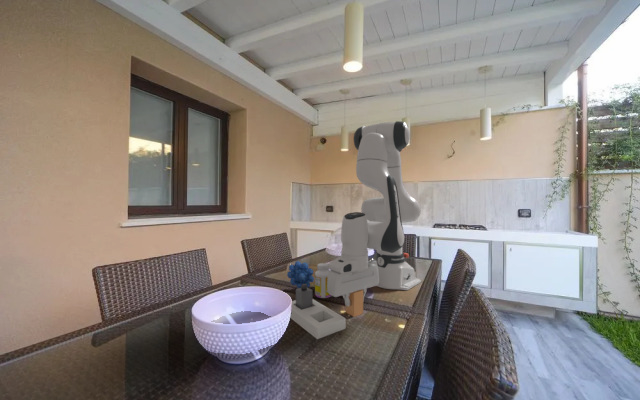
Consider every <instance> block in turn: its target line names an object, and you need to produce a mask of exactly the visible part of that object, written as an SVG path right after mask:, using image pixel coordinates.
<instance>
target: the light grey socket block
mask: <svg viewBox="0 0 640 400" xmlns="http://www.w3.org/2000/svg"><path fill="white" fill-rule="evenodd" d="M291 301H292V314H291V318H290V319H291V320H292V321H293V322H295V323H296V324H297V325H298V326H300V327H301V328H302V329H304V330H305V331H306V332H307V333H309V334H310V335H311V336H312V337H314V338H315V339H316V340H320V339H322V338H324V337H327V336H331V335H332V334H335V333H339V332H340V331H343V330H346V328H347V327H346V321H347V319H346V318H347V317H344V316H342V315H341V314H339V313H338V312H336V311H334V310H332V309H330V308H329V307H327V306H325V305H324V304H322V303H321V302H318V301H317V300H316V299H314V298H313V307H309V308H306V309H302V310H301V309H299V308H298V307H297V306H296V299H294V300H291Z"/></svg>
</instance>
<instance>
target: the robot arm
mask: <svg viewBox="0 0 640 400" xmlns="http://www.w3.org/2000/svg"><path fill="white" fill-rule="evenodd" d="M410 138H411V131H410V128H409V126H408V124H407V123H406V122H405V121H398V120H396V121H392V122H390V121H387V122H379V123H375V124H370V125H363V126H360V127H358V128H357V129H356V130H355V131H354V133H353V145H354V147H355V149H356V150H357V155H356V166H355V171H356V172H355V173H356V174H355V175H356V177H357V179H358V181H359V182H360V183H361V184H362V185H364V186H365V187H368V188H370V189H372V190H375V191H377V192H379V193H380V194H381V195H382V197H371V198H367V199H365V200H363V202H362V204H361V207H360V208H361V209H360V212H359V211H355V212H349V213H346V214H345V215H344V216H343V217H342V223H341V231H340V233H341V234H340V235H341V236H340V239H341V243H342V244H341V245H342V246H341V247H342V248H341V252H340V256H338V257H336V258H335V259H332V261H329V263H328V264H329V270H330V272H329V273H328V279H327V291H328V293H329V294H330V295H332V296H331V297H334V298H338V297H341V296H342V297H343V300H344V305H345V307H346V306H347V307H348V306H351V305H352V300H350V299H349V298H348V296H349V294H350V293H352V292H355V291H359V290H363V303H364V301H365V296H366V293H367V290H368V289H369V288H372V287H379V288H382V289H385V290H386V289H387V290H399V291H400V290H401V291H409V290H410V289H411V288H413V287H415V286H417V285H419V284H420V283H421V279H420V278H418V277H416V271H415V268H414V267H413V266H412V265H410V264H409V263H408V262H407V261H406V259H409V256H410V255H409V253H406V252H403V246H404V243H405V233H404V227H403V224H402V223H411V222H416V221H417V220H418V219H419V217H420V215H421V205H420V202H419V201H418V200H417V199H416V198H414V197H412V196H411V194H409V193H408V190H407V189H406V188H405V186H404V182H403V181H404V180H403V172H402V171H403V170H402V157H401V152H402V151H403V149H405V148H406V147H407V146H408V145H409V143H410V142H409V141H410ZM368 249H370V250H376V253H375V258H370V259H369V250H368Z"/></svg>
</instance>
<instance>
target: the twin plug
mask: <svg viewBox="0 0 640 400" xmlns="http://www.w3.org/2000/svg"><path fill="white" fill-rule="evenodd" d="M313 296H314V295H313V289H311V288H310V287H307V285H306V284H302V285H301V288H296V289H295V300H296V306H297V307H298V308H299V309H301V310H302V309H306V308H309V307H313V299H314V298H313Z"/></svg>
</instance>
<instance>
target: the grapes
mask: <svg viewBox="0 0 640 400" xmlns="http://www.w3.org/2000/svg"><path fill="white" fill-rule="evenodd" d="M309 266H310V265H309V264H308V263H307V262H300V261H298V260H297V261H295V262H294V264H289V265H288V272H287V274H286V276H287V278H288V279H290V280H289V283H290V284H291V285H292V286H296V289H298V288H301V285H302V284H306V285H307V287H308V288H310V287H311V283H314V282H315V276H313V275H314V269H312V268H310V267H309Z"/></svg>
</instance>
